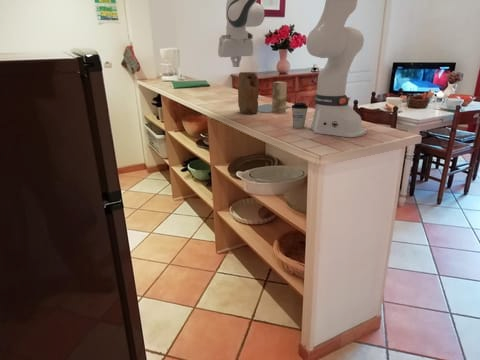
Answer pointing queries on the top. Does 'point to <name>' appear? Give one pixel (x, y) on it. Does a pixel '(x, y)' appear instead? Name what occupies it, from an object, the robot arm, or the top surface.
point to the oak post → (279, 97)
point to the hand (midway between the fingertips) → (236, 66)
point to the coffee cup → (299, 114)
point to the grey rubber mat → (266, 108)
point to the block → (248, 92)
